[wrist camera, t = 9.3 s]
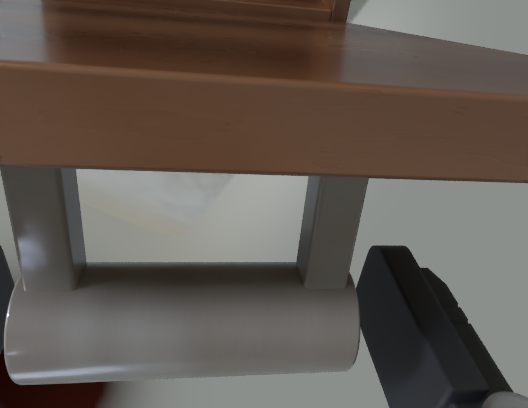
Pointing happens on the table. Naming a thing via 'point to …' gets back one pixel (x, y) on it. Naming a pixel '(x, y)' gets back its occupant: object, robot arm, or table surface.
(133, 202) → the table surface
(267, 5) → the bread box
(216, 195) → the table surface
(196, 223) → the table surface
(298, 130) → the lid
